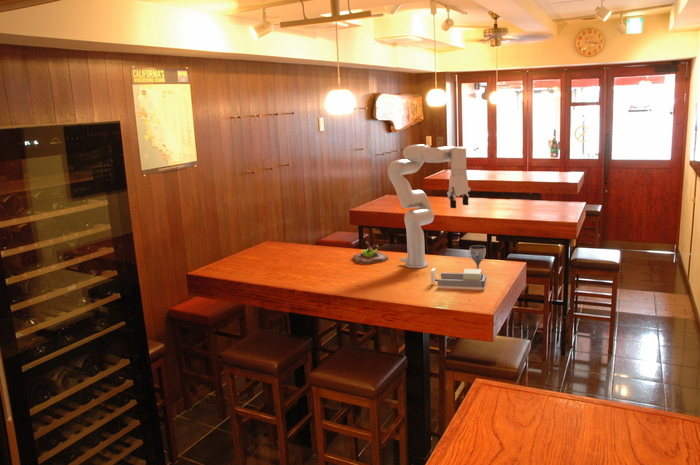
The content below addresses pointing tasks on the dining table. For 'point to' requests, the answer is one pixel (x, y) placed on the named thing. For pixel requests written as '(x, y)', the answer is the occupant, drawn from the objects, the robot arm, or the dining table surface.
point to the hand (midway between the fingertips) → (459, 206)
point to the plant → (370, 256)
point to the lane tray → (460, 282)
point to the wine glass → (477, 253)
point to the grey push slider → (467, 274)
